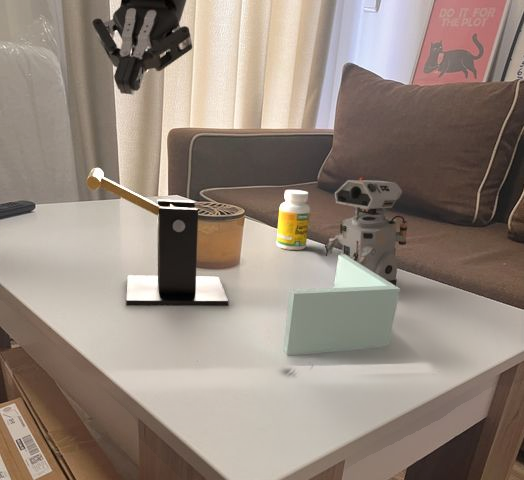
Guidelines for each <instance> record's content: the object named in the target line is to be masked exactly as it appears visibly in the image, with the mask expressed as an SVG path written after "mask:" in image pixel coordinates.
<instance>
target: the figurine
mask: <svg viewBox="0 0 524 480" xmlns="http://www.w3.org/2000/svg"><path fill="white" fill-rule="evenodd" d="M402 194H403V191H402V189H401V187H400V186H399V185H398V184H397V183H396V182H394V181H386V180H371V179H370V180H369V179H368V180H367V179H366V180H365V177H360V178H359V179H347V180H346V181H345V182H344V183H343V184H342V185H341V186H340V187H338V189H337V190H336V191H335V192H334V199H335V204H339V205H344V206H350V207H353V210H354V211H355V212H354V216H353V217H350V218H346V219H344V220H343V221H340V223H339V233H338V234H337V235H336V236H335V237H331V238H329V239H328V243H324V248H325V257H327V256H328V253H330V254H332V252H333V249H334V248H336V246H337V244H341V245H342V248H341V253H340V255H346V256H348V257H349V258H351V259H353V260H354V261H356V262H358V263H359V264H361V265H362V266H364V267H366V268H367V269H369V270H371V271H372V272H374V273H375V274H377V275H379V276H380V277H382V278H384V279H385V280H387V281H388V282H390V283H392V284H393V285H395V286H396V287H397V282H398V280H397V274H398V273H397V272H398V259H397V256H396V250H397V249H396V243H398V245H400V246H405V245H406V244H407V232H408V221H406V220H405V218H404V217H403V216H402V215H396V216H394V217H393V218H391V217H388V216H385V214H386V212H387V210H386V209H392V208H393V206H394V205H395V203H396V201H397V200H399V198H400V197H401V196H402ZM397 218H401V220H402V221H400V224H399V225H400V226H399V231H397V225H398V224H397V223H398V220H397ZM336 269H337V267H336V268H335V270H336Z"/></svg>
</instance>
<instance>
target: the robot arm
mask: <svg viewBox="0 0 524 480" xmlns="http://www.w3.org/2000/svg"><path fill="white" fill-rule="evenodd" d="M186 4H187V0H121V1H120V6H119V7H118V8H117V9H116V10H115V11H114V13H113V15H112V19H110V20H107V21H103V20H102V19H101V18H95V19H93V20H92V26H93V28H94V31H95V34H96V36H97V38H98V41H99V43H100V44H101V46H102V48H103V50H104V52H105V54H106V55H107V57H108V59H109V60H110V62H111V63H112V65H113V66H114V67H115V72H114V75H113V79H114V81H115V84H116V88H117V89H118V90H119V92H120V94H121V95H127V96H128V95H130V96H134V95H135V93H136V92H138V91H139V89H141V85H142V83H143V80H144V76H145V74H147V73H148V72H149V70H152V69H153V70H154V71H155V72H161V71H163V70H164V69H166V68H167V67H168V66H169V65H171V64H173V63H174V62H175V61H177V60H179V59H180V58H181V57H183V56H184V55H186V54H187V53H188V52H190V51H192V49H193V42H192V36H191V32H190V28H189V27H188V26H186V25H185V26H181V25H180V24H181V19H182V16H183V13H184V10H185V7H186ZM116 32H117V33H118V35H119V37H120V38H121V45H120V47H118V45H117V43H116V42H115V38H116ZM164 53H165V54H164ZM163 54H164V55H163ZM161 55H162V56H161Z"/></svg>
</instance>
